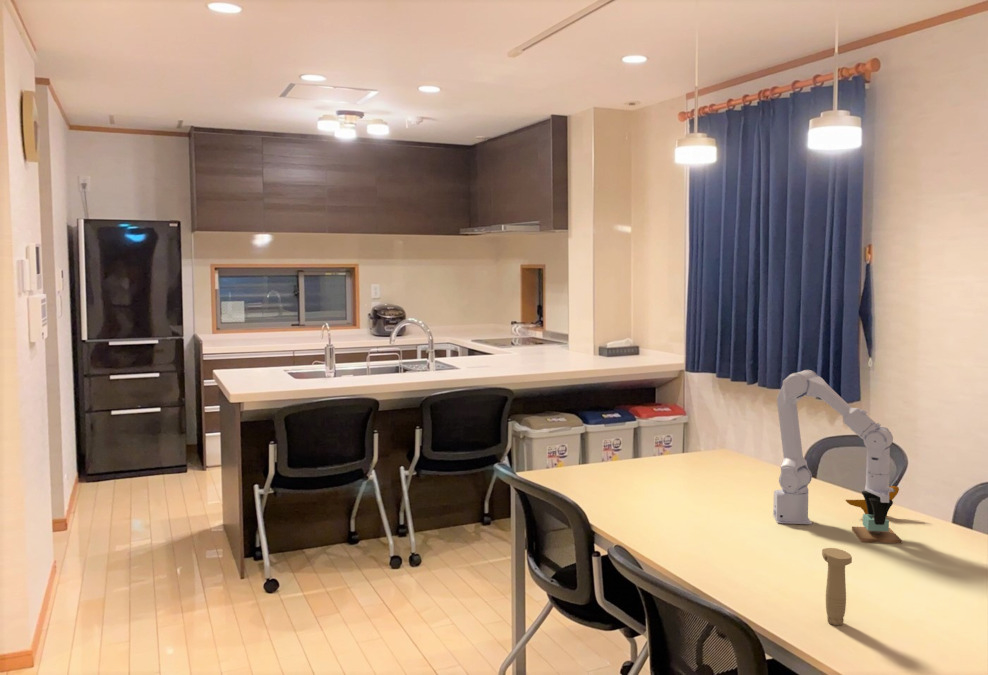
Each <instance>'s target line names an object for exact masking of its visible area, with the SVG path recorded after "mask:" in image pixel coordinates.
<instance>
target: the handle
mask: <svg viewBox="0 0 988 675" xmlns="http://www.w3.org/2000/svg"><path fill="white" fill-rule="evenodd" d="M821 554H822V559H823V560H824V561H825V562H826V563H827V575H826V577H827V578H826V586H825V587H826V588H825V609H826V610H825V611H826V617H827V622H828V623H827V624H829V625H834V626H842V625H843V624H844V621H845V620H844V618H845V614H846V609H847V608H846V607H847V589H846V566H848V565H850V564H852V563H853V556H852V554H850V553H849V552H848V551H845V550H843V549H841V548H840V549H839V548H836V547H826V548H825V547H824V548H822V549H821Z"/></svg>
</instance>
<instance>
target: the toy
mask: <svg viewBox="0 0 988 675" xmlns="http://www.w3.org/2000/svg"><path fill="white" fill-rule="evenodd" d="M889 488H893V489H894V492H889V500H892V501H893V500H894V499H895V498H896V496H897V495H898V494H899V491H900V488H899V487H898V486H895V485H891V486H890V485H889ZM845 502H846V503H847V504H848V505H850V506H853V507H857V508H861V510H862V511H863V512H864V513H863V514H868V510H867V505H866V501H865V499H845Z"/></svg>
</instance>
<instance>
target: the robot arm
mask: <svg viewBox="0 0 988 675" xmlns="http://www.w3.org/2000/svg"><path fill="white" fill-rule="evenodd" d="M805 395H806V396H807V397H813V398H820V399H821V400H822V401H823V402H825V403H826V404H827V405H828V406H829V407H831V409H833V410H835V411H836V412H837V413H838V414H839V415H841V416H842V421H843V424H844V425H845V426H847V428H849V429H850V430H851V431H853V433H855V434H856V435H857V436H858V437H859V438H860V439H862V440H863V444H864V447H865V448H866V468H865V469H866V470H865V471H866V472H865V486H864V490H862V491H861V494H862V497H863V498H864V499H863V500H865V501H866V505H867V510H868V514H871V515H874V521H875V524H876V525H884V523H885V519H886V518H887V515H888V514H889V513H888V512H889V510H890V508H891V507H892V506H893V504H894V501H893V500H889V492H894V489H893V488H889V486H890V470H891V469H890V464H891V463H890V461H891V460H890V459H891V457H890V456H891V455H890V453H891V451H890V450H891V449H890V448H891V447H890V446H891V445H892V444H893V441H894V437H893V434H892V432H891V431H890V430H889V428H888V427H885V426H881V424H880V423H879V422H876V421H874V420H873V419H872V418H871V417H870V416H868V412H867V411H866V410H865V408H864V409H861V408H859V407H852V406H850V404H848V402H846V401H845V400H844V399H843V397H841V396H840V395H839V394H838V393H837V392H836V391H835V390H834V389H833V388H832V387H831V386H830V385H829V384H828V383H827V382H826V381H825V379H823V377H821V376H820V375H818V374H817V373H816V372H815V371H814V370H810V369H804V370H801V371H799V372H793V373H791V374H789V375H788V376H787V377H786V378H784V379H783V380H782V386H781V388H780V390H779V392H778V394H777V397H776V403H777V404H776V406H777V412H778V422H779V428H780V429H779V430H780V438H781V446H782V453H783V460H782V463H781V465H780V473H779V477H778V483H779V485H780V487H781V489H774V491H773V512H772V516H773V517H774V519H775V521H776V523H778V524H786V525H787V524H789V525H791V524H792V525H793V524H794V525H812V521H811V520H810V518H809V488H808V486H809V484H810V483H811V481H812V479H813V475H812V471H811V470H810V469H809V467H808V461H807V459H806V458H805V457H804V456H803V455H804V454H803V447H802V446H803V445H802V438H801V430H800V420H799V414H798V413H799V412H798V402H799V401H801V400H802V399H803V397H805Z"/></svg>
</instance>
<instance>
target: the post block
mask: <svg viewBox="0 0 988 675" xmlns="http://www.w3.org/2000/svg"><path fill="white" fill-rule="evenodd" d="M872 519H874V518H872ZM851 530H852V532H853V533H854V534H856V535H855V536H856V537H857V538H858V540H860V542H861V543H872V542H882V543H881V544H897V543H902V541H903V540H902V539H901V538H900V536H898V535H897V534H896V533H895V531H894V530H892V529H891V528H890V527H889V532H887V531H868V530H867V529H866V528H865V527H864V526H851Z"/></svg>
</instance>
